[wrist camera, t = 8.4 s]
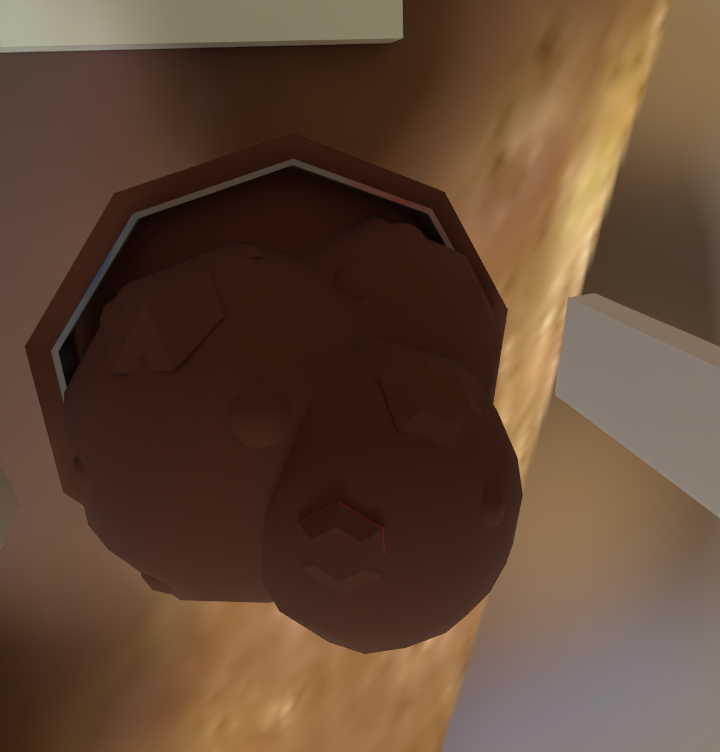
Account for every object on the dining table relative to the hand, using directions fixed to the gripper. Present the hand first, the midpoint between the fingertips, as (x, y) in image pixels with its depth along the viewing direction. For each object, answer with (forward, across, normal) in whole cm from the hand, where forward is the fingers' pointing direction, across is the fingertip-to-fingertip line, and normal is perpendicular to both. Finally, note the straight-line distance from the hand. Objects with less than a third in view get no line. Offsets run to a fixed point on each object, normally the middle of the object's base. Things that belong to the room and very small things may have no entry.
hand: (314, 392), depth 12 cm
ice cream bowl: (+10, 0, 0) cm, 10 cm away
